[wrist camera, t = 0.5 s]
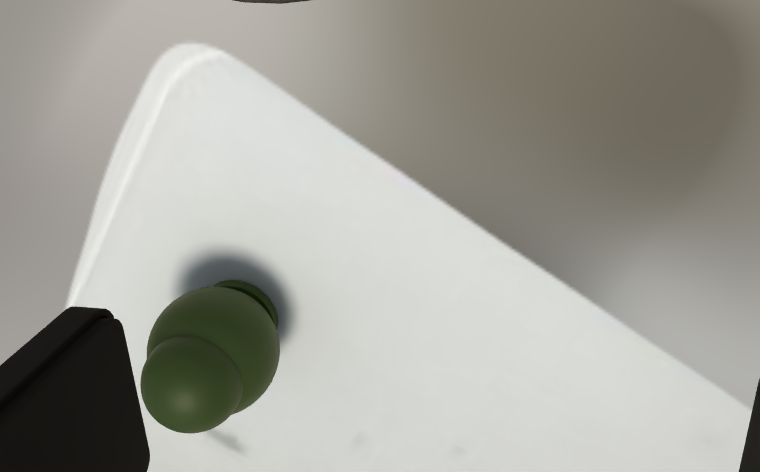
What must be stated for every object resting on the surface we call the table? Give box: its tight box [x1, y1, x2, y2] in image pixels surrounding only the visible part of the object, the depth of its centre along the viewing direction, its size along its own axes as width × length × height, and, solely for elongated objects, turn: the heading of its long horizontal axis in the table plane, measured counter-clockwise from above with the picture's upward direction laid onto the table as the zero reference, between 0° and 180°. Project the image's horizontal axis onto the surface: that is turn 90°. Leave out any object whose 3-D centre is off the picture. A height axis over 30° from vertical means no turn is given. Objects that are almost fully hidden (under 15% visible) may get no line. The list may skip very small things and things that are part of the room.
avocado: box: [141, 280, 280, 433], centre depth 33 cm, size 6×6×8 cm
